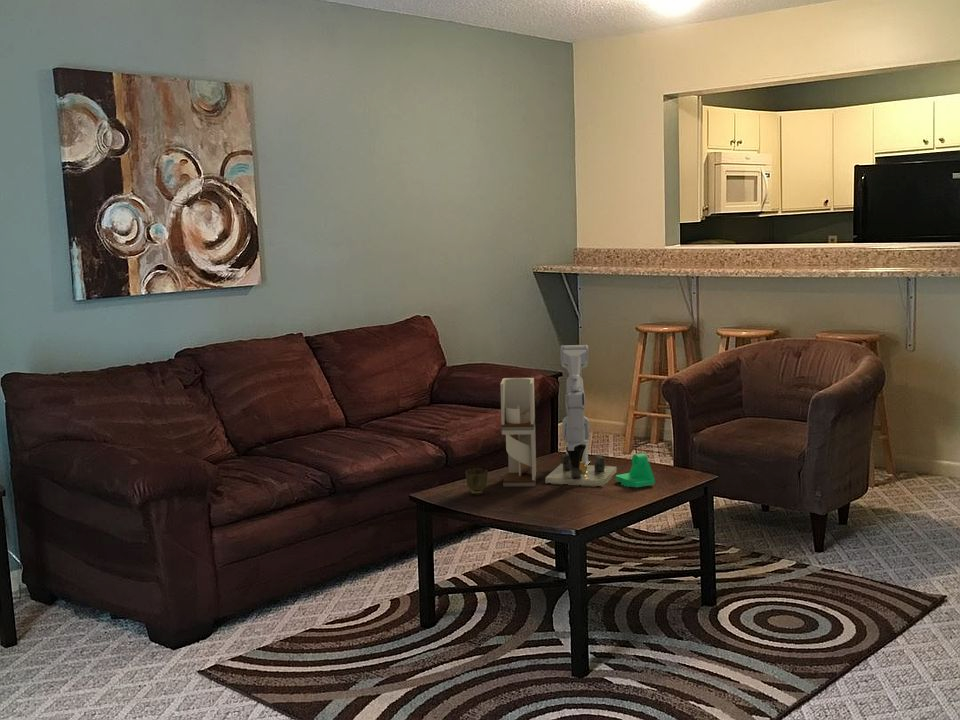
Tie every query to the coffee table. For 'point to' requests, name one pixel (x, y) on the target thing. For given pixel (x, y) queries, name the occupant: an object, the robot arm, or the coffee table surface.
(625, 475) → the camera mount
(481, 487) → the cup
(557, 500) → the coffee table surface
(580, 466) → the tan-ended square prism
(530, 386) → the white dispenser tower
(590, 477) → the base
